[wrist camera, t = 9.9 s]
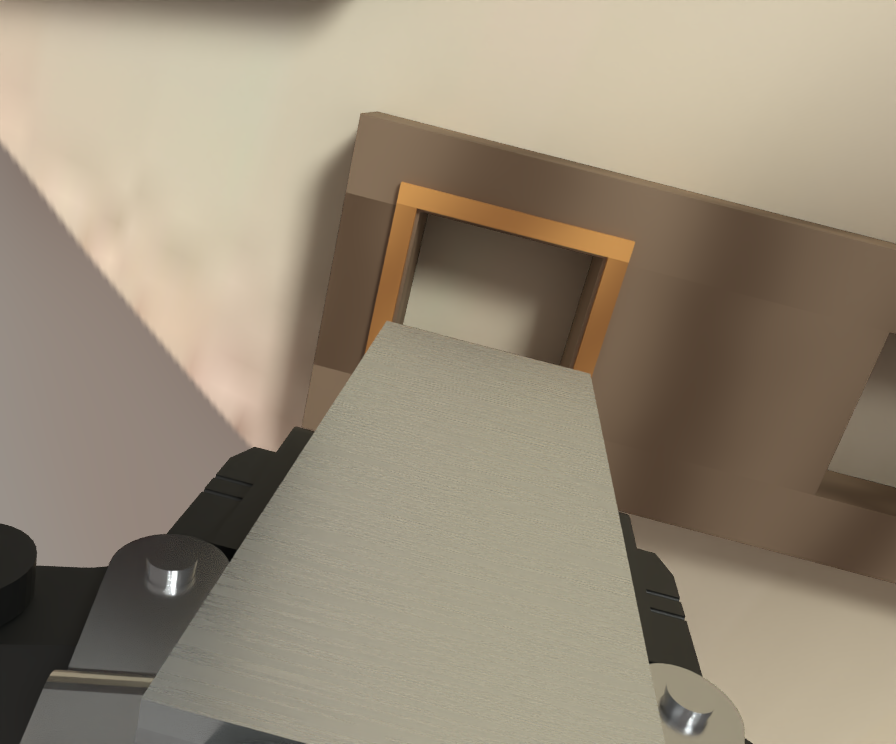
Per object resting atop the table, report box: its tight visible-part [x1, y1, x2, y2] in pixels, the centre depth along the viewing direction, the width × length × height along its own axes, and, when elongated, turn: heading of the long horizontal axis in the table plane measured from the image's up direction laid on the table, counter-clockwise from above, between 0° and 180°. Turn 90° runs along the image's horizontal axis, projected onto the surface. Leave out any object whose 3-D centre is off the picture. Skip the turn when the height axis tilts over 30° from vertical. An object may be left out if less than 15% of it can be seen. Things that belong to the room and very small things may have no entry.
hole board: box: [302, 112, 896, 584], centre depth 25 cm, size 24×10×3 cm, turn 77°
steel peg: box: [137, 321, 665, 744], centre depth 11 cm, size 4×4×10 cm
